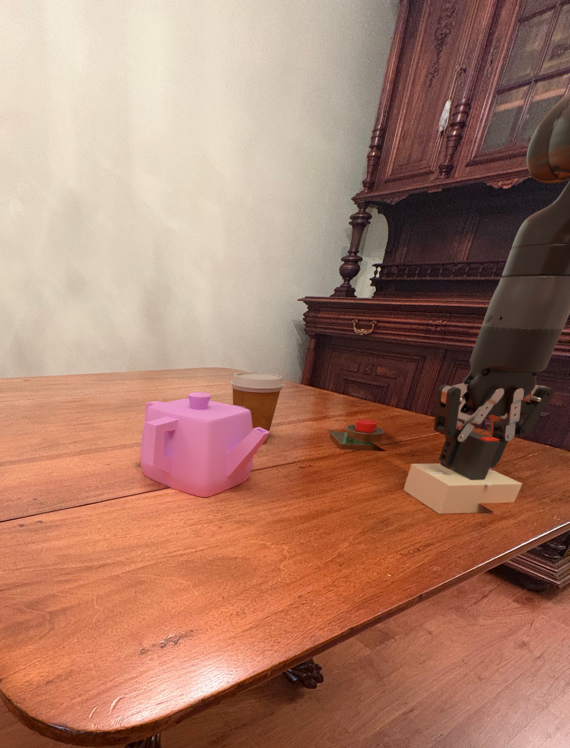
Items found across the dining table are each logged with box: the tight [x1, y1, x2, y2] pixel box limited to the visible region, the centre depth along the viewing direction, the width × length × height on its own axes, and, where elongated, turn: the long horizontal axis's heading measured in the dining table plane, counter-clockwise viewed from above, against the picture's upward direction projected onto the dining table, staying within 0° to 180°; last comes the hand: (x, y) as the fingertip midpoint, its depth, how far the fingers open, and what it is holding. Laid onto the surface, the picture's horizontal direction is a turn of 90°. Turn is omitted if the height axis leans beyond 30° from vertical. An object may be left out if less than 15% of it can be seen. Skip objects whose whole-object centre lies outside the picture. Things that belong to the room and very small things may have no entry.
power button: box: [354, 418, 378, 432], centre depth 80 cm, size 4×4×2 cm
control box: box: [403, 462, 523, 515], centre depth 58 cm, size 10×9×4 cm
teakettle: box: [139, 391, 271, 498], centre depth 62 cm, size 17×17×12 cm
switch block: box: [329, 424, 387, 452], centre depth 81 cm, size 10×8×3 cm
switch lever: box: [451, 430, 500, 480], centre depth 56 cm, size 5×2×5 cm, turn 6°
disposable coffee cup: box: [230, 371, 285, 446], centre depth 79 cm, size 10×10×12 cm
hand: (466, 466), depth 57 cm, fingers open, 5 cm apart
